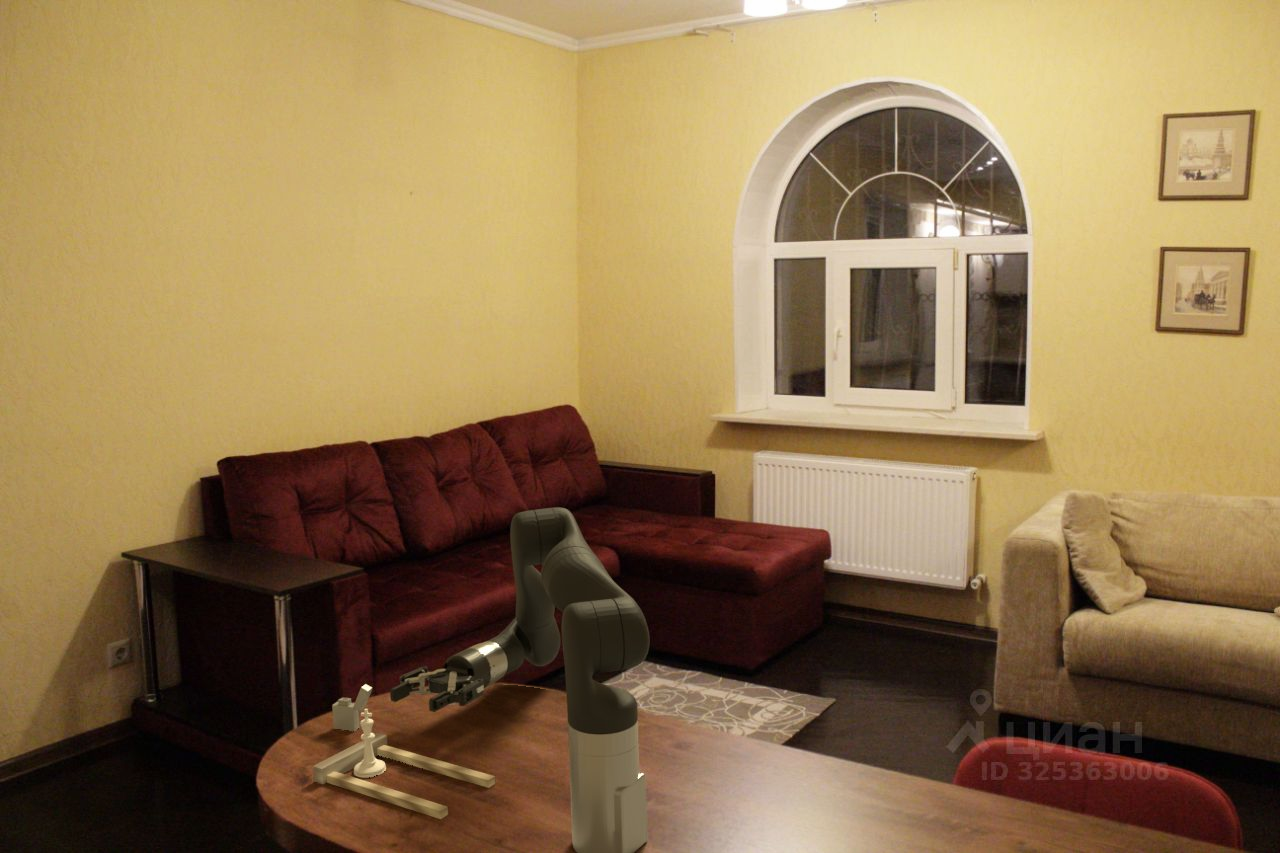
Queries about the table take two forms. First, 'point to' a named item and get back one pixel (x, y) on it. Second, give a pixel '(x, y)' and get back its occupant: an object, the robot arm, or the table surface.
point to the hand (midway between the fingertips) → (411, 701)
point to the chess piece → (368, 752)
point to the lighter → (350, 710)
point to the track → (353, 755)
